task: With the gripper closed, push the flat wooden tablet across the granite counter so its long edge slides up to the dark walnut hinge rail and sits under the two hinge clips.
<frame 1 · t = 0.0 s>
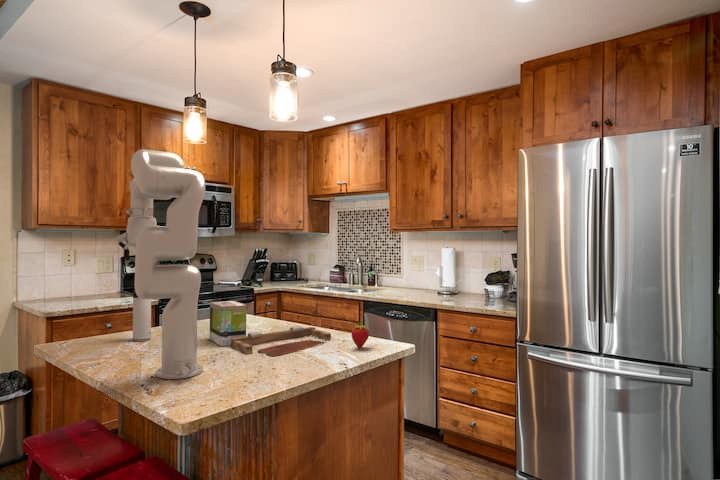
hand: (141, 259, 163), 31 cm above the worktop, tool pointing down, fingers open, 9 cm apart
hinge frame: (282, 343, 165), on the worktop
strawberry: (360, 349, 158), on the worktop
travel mug: (142, 340, 170), on the worktop
wooden tablet: (293, 349, 159), on the worktop
tea box: (227, 341, 168), on the worktop
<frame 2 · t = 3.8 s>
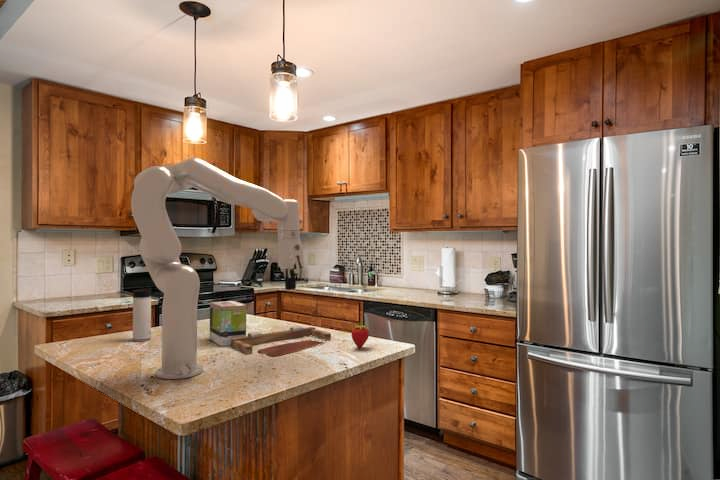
hand: (290, 289, 151), 22 cm above the worktop, tool pointing down, fingers closed
nothing on the worktop moved.
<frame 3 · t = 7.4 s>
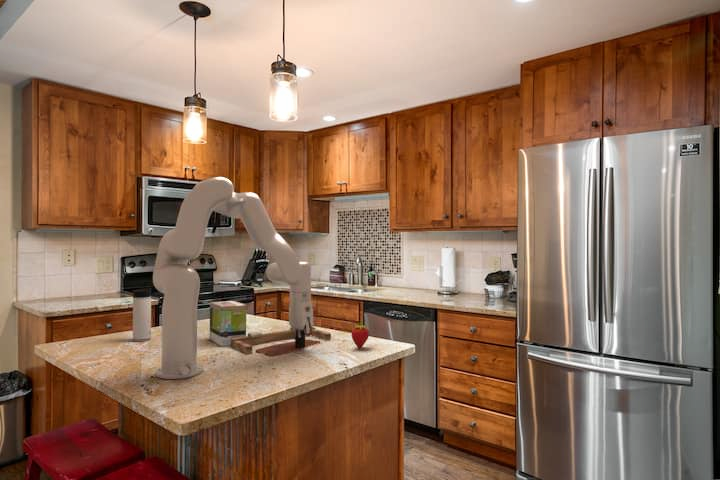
hand: (300, 347, 156), 1 cm above the worktop, tool pointing down, fingers closed
wooden tablet: (291, 349, 160), on the worktop, touching gripper
everything else where it was.
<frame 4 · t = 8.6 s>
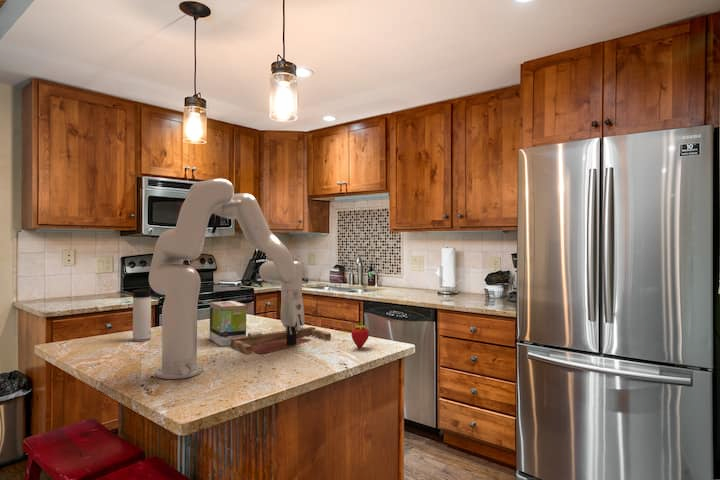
hand: (291, 344, 161), 1 cm above the worktop, tool pointing down, fingers closed
wooden tablet: (280, 347, 163), on the worktop
everything else where it was.
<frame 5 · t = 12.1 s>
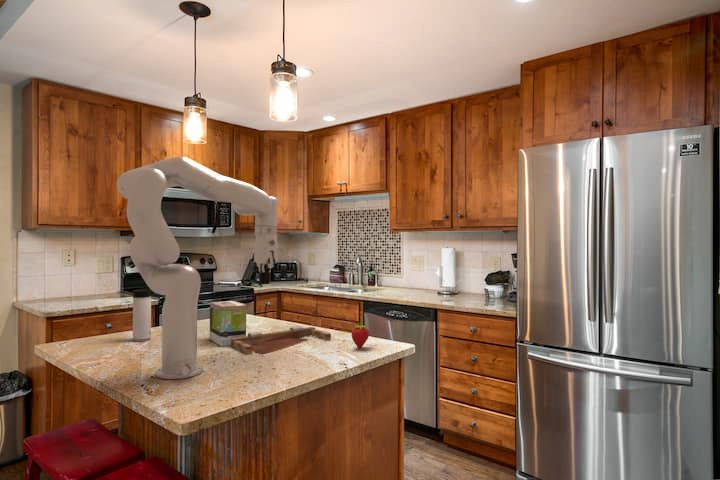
hand: (264, 283, 154), 24 cm above the worktop, tool pointing down, fingers closed
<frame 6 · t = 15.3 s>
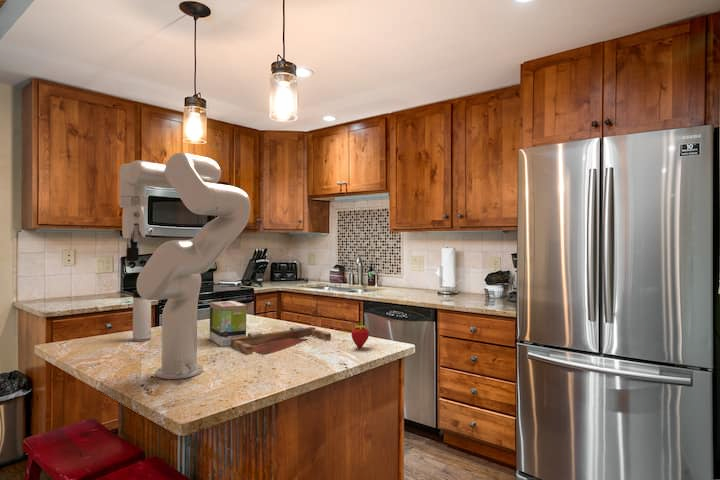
hand: (132, 260, 140), 32 cm above the worktop, tool pointing down, fingers closed
at the end: wooden tablet inside the target area on the hinge frame (2.1 cm from its centre), point -0.9 cm above the hinge frame's base; wooden tablet moved 6.5 cm from its start; wooden tablet touching worktop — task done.
